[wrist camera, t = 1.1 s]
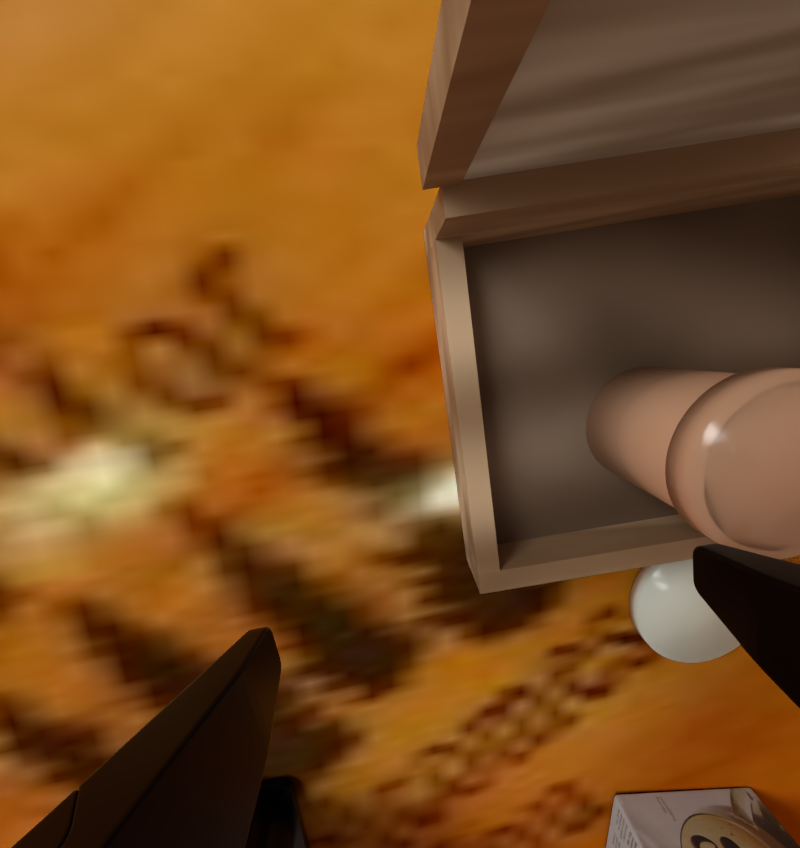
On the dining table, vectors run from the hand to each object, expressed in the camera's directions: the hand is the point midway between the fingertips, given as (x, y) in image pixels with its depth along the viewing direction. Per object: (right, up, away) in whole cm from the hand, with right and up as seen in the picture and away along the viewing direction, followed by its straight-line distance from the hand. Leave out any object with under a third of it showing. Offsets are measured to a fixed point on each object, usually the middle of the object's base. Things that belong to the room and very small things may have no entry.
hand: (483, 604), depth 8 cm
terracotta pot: (+10, +4, +11) cm, 15 cm away
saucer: (+14, -6, +13) cm, 20 cm away
